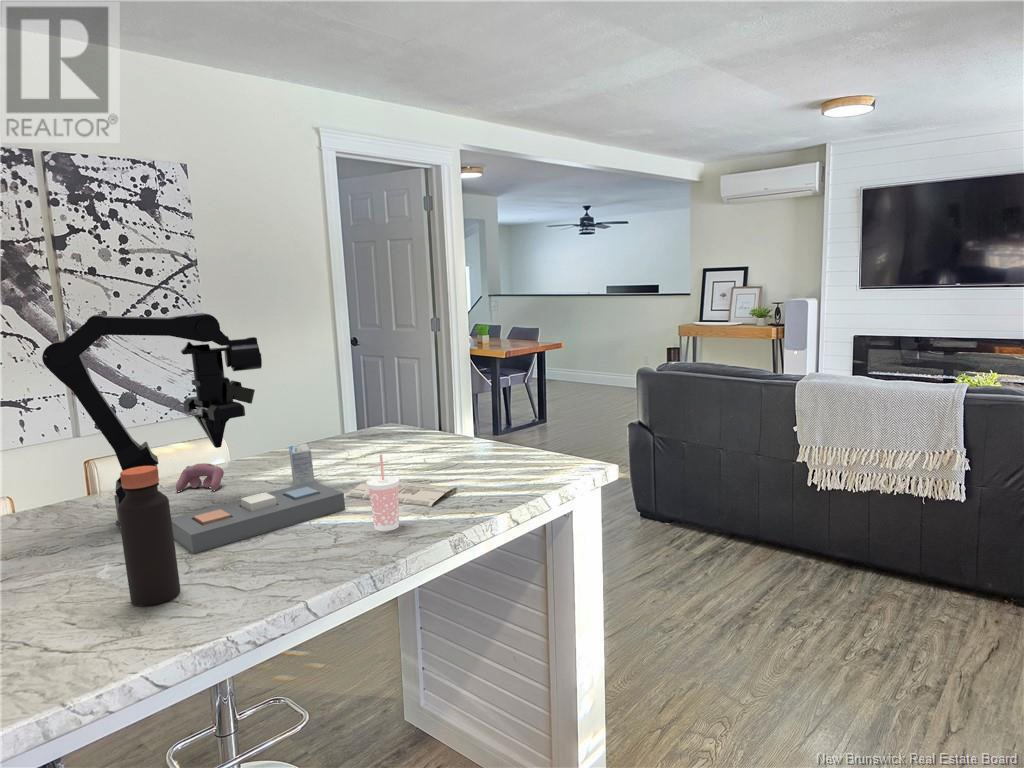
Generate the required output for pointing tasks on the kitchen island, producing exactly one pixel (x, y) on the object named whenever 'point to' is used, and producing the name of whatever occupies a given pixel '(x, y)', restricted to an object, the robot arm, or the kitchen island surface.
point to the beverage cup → (384, 501)
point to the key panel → (255, 518)
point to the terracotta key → (211, 517)
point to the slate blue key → (301, 493)
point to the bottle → (147, 538)
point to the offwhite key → (258, 502)
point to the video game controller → (198, 470)
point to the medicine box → (301, 464)
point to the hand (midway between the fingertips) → (217, 447)
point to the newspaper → (408, 493)
